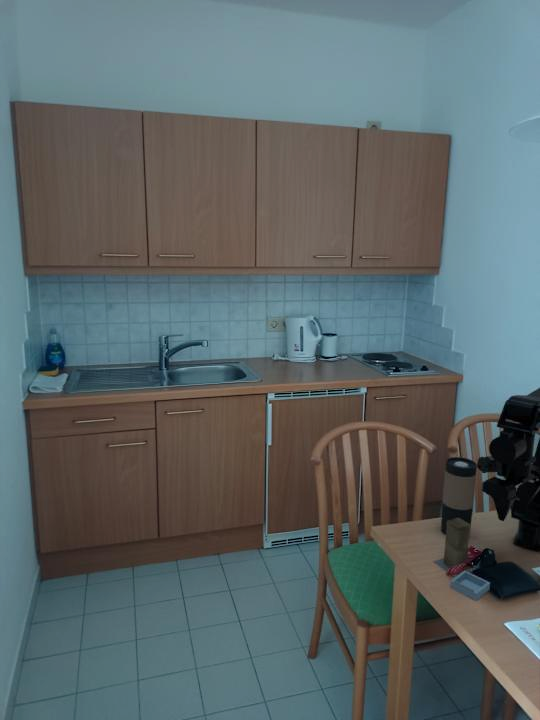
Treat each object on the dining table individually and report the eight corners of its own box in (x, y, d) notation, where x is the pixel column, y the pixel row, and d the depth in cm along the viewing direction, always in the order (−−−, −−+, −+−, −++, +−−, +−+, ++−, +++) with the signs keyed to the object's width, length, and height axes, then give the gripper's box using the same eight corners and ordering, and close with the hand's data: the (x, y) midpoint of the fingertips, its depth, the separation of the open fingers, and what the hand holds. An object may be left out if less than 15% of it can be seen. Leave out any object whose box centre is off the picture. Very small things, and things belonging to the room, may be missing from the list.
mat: (454, 556, 129) (454, 554, 128) (477, 571, 122) (477, 569, 122) (432, 563, 125) (432, 561, 125) (455, 579, 119) (455, 577, 119)
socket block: (463, 578, 120) (464, 569, 119) (489, 590, 115) (490, 581, 115) (450, 588, 116) (450, 579, 115) (475, 602, 111) (476, 593, 111)
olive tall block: (454, 559, 126) (458, 517, 124) (466, 567, 123) (470, 524, 121) (443, 563, 125) (446, 520, 123) (454, 571, 121) (458, 528, 119)
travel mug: (434, 528, 142) (439, 458, 138) (458, 524, 144) (464, 455, 140) (451, 542, 134) (458, 469, 131) (476, 538, 137) (483, 466, 133)
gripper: (507, 434, 131) (501, 492, 134) (463, 449, 120) (458, 512, 123) (552, 447, 123) (545, 509, 126) (510, 464, 112) (502, 532, 115)
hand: (512, 514), depth 123 cm, fingers open, 9 cm apart
